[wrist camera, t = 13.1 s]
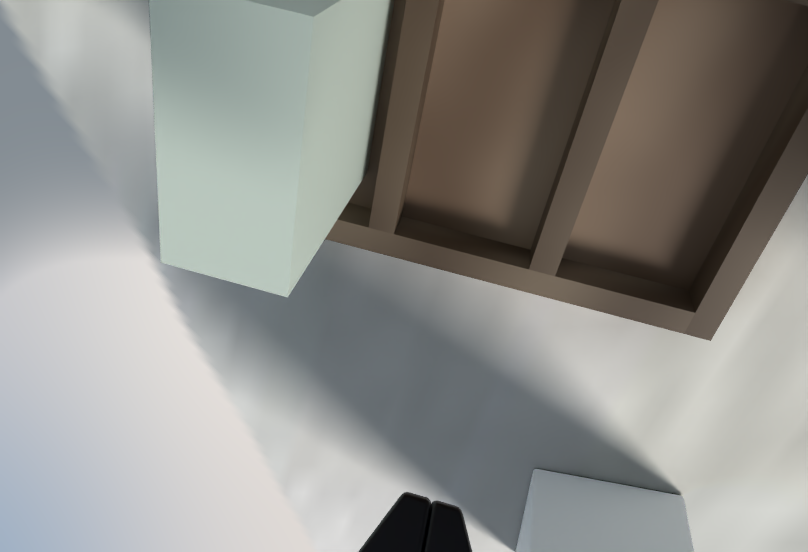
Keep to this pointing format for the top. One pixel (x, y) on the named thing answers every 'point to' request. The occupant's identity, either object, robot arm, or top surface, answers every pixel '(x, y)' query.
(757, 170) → the rack
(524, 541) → the milk
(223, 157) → the block
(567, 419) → the top surface
